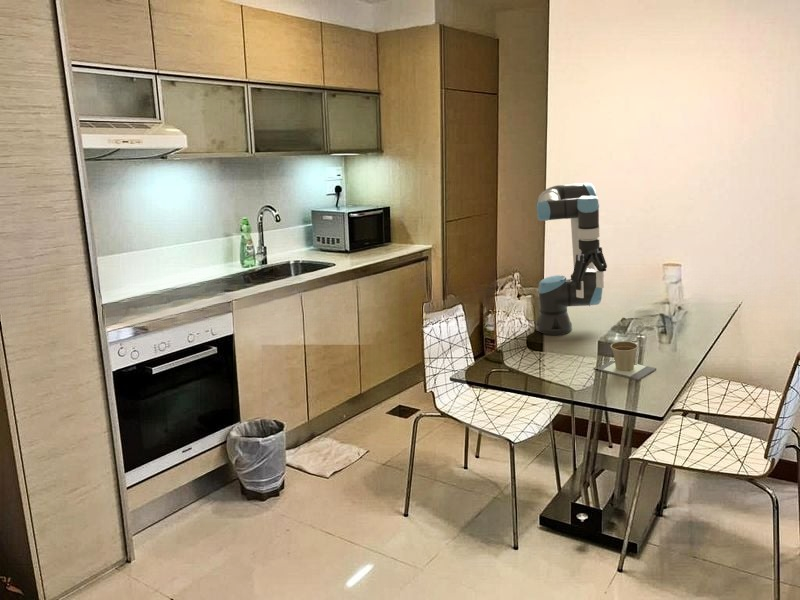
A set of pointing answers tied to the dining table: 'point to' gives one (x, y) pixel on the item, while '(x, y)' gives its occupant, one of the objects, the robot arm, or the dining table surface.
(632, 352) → the flower pot
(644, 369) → the flat plate
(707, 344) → the dining table surface
